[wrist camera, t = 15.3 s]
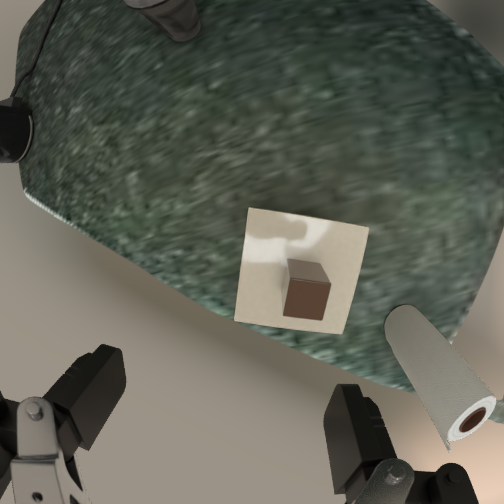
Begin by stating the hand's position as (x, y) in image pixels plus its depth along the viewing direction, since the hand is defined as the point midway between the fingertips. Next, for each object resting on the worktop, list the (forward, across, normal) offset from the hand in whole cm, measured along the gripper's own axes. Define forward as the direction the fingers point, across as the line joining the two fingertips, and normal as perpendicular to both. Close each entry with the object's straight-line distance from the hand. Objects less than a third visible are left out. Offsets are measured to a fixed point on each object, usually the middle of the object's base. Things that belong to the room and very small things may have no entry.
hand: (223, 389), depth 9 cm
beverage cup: (+27, +13, -27) cm, 41 cm away
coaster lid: (+16, -4, +1) cm, 17 cm away
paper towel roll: (+26, -22, +10) cm, 36 cm away
